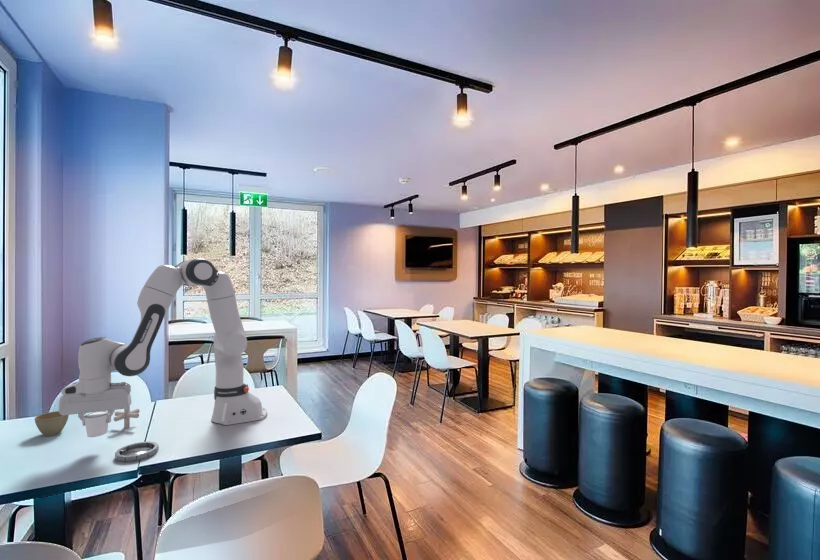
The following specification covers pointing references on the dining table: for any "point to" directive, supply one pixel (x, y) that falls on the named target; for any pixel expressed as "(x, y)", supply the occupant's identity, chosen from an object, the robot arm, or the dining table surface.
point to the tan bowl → (51, 423)
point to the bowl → (136, 452)
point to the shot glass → (96, 423)
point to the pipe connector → (126, 416)
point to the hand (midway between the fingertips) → (97, 423)
